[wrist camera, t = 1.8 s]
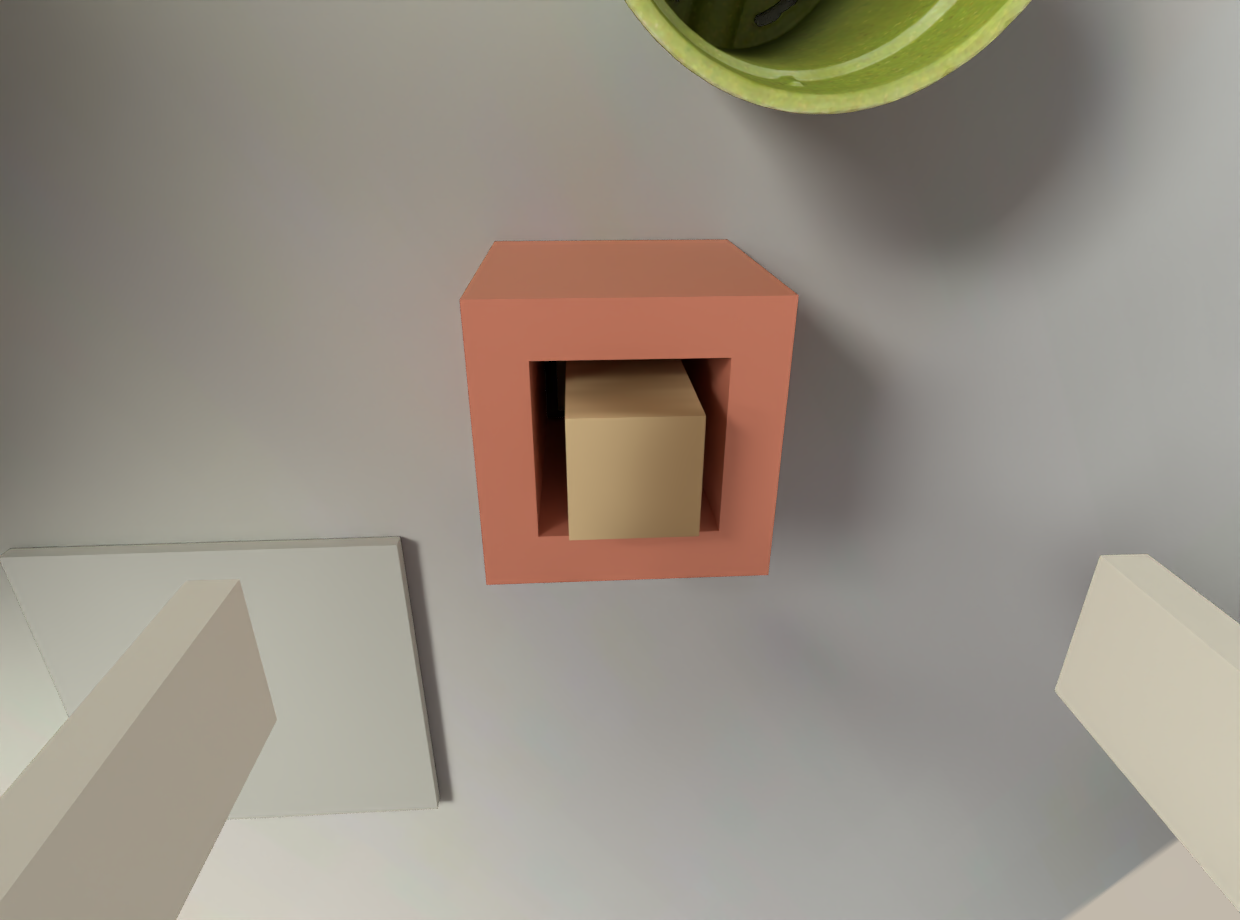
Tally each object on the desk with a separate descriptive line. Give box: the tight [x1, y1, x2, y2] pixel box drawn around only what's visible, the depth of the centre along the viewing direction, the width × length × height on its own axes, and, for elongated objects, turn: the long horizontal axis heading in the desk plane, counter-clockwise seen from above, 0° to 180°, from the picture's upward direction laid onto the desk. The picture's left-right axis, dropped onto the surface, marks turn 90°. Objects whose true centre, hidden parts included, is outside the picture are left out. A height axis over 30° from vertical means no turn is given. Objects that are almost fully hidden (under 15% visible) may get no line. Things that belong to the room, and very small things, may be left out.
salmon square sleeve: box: [460, 239, 799, 585], centre depth 21 cm, size 7×7×8 cm
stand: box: [556, 359, 706, 540], centre depth 20 cm, size 4×4×10 cm
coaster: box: [0, 537, 440, 820], centre depth 29 cm, size 14×14×1 cm
